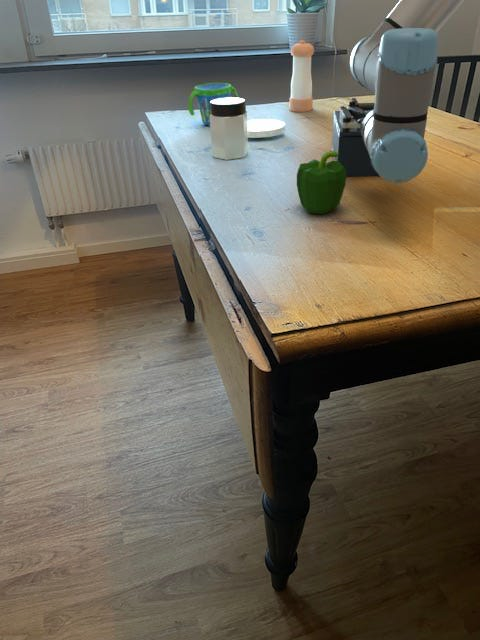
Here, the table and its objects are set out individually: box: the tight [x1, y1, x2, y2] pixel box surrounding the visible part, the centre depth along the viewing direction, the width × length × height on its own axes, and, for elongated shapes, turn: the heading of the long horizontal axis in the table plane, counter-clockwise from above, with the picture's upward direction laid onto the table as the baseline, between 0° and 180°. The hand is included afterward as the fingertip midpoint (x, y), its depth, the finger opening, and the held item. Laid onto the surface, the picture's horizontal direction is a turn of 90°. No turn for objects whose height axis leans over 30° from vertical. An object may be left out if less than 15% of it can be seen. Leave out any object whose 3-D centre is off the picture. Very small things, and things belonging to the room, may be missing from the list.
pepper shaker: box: [288, 39, 315, 113], centre depth 153 cm, size 7×7×19 cm
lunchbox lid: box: [333, 102, 375, 136], centre depth 105 cm, size 21×13×5 cm, turn 174°
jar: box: [209, 97, 249, 161], centre depth 116 cm, size 9×8×12 cm
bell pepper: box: [296, 150, 347, 215], centre depth 86 cm, size 8×8×10 cm
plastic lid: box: [247, 118, 286, 139], centre depth 133 cm, size 14×14×2 cm
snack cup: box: [187, 82, 239, 127], centre depth 144 cm, size 16×10×10 cm
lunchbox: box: [331, 116, 380, 177], centre depth 109 cm, size 20×13×8 cm, turn 174°
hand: (370, 104), depth 102 cm, fingers closed on lunchbox lid, 6 cm apart
